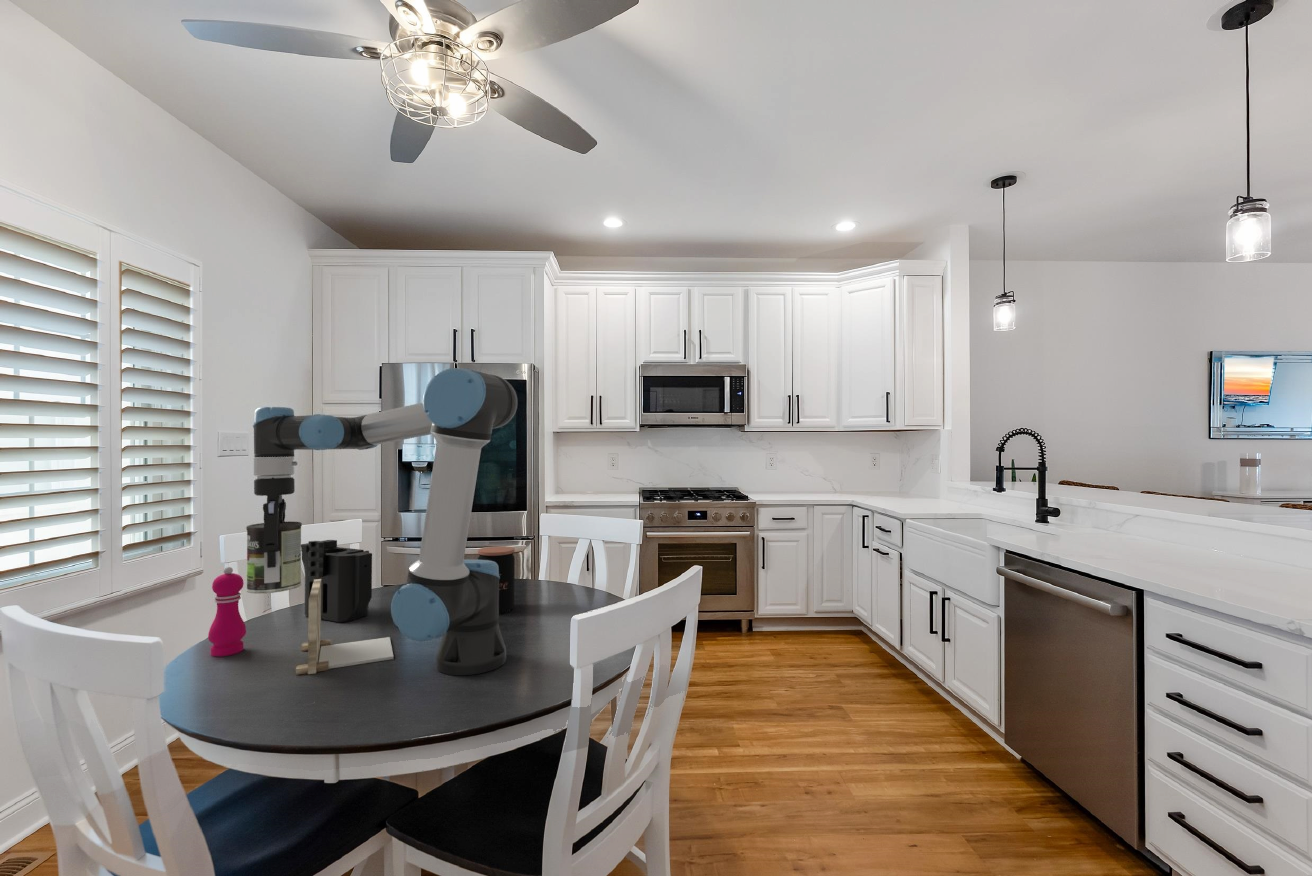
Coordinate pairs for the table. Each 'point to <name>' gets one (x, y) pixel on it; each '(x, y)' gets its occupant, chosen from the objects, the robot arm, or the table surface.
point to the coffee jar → (502, 572)
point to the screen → (314, 634)
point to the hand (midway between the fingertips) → (275, 577)
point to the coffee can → (288, 558)
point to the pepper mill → (227, 615)
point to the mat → (356, 652)
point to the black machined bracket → (338, 579)
